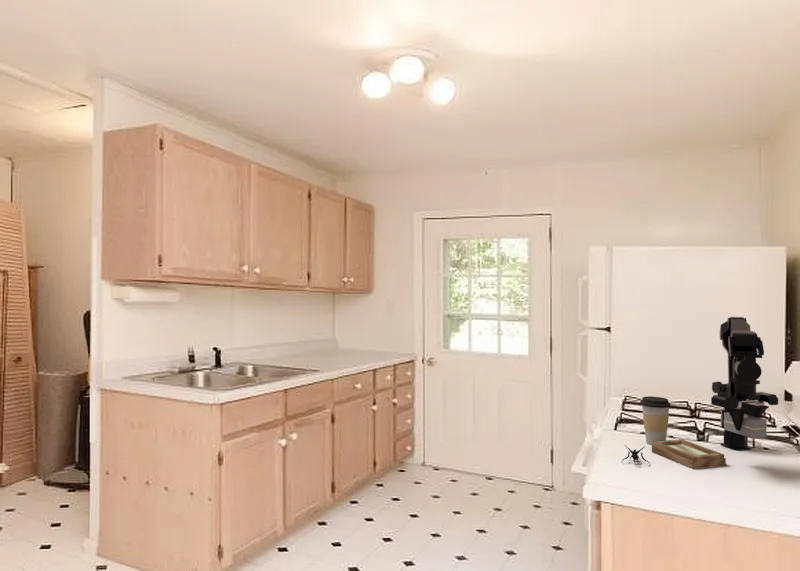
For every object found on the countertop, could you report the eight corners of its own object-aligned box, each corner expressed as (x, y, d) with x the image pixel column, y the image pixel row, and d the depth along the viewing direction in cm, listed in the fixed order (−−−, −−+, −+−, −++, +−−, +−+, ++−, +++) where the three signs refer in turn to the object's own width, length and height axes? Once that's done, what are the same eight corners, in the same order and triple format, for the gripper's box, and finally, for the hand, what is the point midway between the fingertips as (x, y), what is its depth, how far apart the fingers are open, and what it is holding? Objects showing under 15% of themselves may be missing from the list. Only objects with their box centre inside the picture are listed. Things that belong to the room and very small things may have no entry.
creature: (651, 473, 156) (648, 458, 164) (651, 456, 155) (648, 442, 163) (622, 470, 159) (620, 456, 166) (622, 453, 158) (620, 440, 165)
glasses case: (735, 428, 162) (735, 411, 162) (766, 437, 152) (766, 419, 152) (723, 429, 161) (723, 412, 161) (754, 438, 151) (754, 420, 151)
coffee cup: (674, 448, 176) (674, 402, 176) (643, 446, 178) (643, 401, 178) (666, 440, 185) (666, 396, 185) (637, 438, 187) (637, 395, 187)
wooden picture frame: (682, 448, 175) (682, 439, 175) (725, 465, 159) (725, 454, 159) (651, 452, 172) (651, 442, 172) (692, 468, 156) (692, 457, 156)
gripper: (745, 370, 167) (745, 420, 167) (696, 373, 162) (696, 425, 162) (779, 376, 156) (779, 430, 156) (727, 379, 151) (727, 434, 151)
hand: (744, 429), depth 156 cm, fingers closed on glasses case, 4 cm apart
